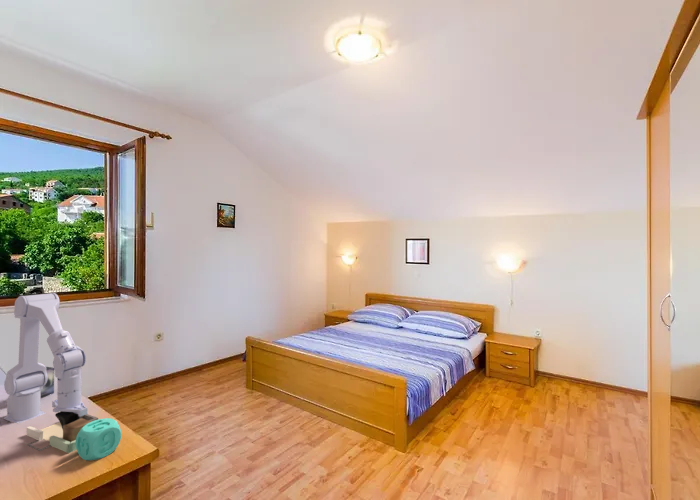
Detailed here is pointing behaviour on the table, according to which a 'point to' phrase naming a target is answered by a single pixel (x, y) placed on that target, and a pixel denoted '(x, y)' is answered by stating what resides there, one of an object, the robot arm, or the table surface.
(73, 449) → the tray
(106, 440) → the decorative dice
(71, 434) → the walnut cube
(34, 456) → the table surface
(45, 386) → the small box
